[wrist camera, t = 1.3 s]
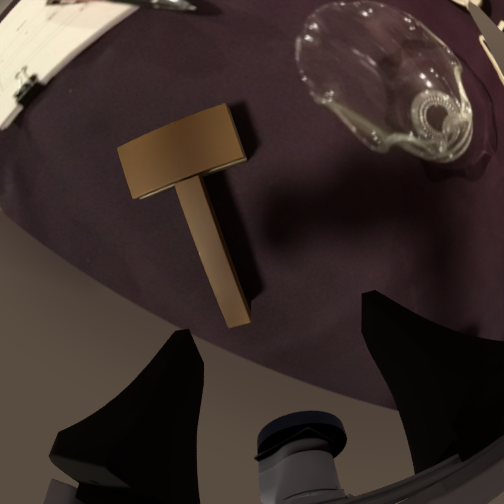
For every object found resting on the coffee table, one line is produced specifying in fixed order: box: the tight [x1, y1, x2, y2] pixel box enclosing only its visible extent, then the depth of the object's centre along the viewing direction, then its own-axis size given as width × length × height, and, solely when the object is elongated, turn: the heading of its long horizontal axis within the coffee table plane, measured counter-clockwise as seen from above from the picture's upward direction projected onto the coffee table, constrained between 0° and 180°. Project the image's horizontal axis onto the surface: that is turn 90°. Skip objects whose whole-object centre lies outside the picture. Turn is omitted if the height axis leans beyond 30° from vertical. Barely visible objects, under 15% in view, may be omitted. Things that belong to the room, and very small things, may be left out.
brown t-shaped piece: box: [117, 103, 251, 328], centre depth 19 cm, size 8×14×3 cm, turn 18°
